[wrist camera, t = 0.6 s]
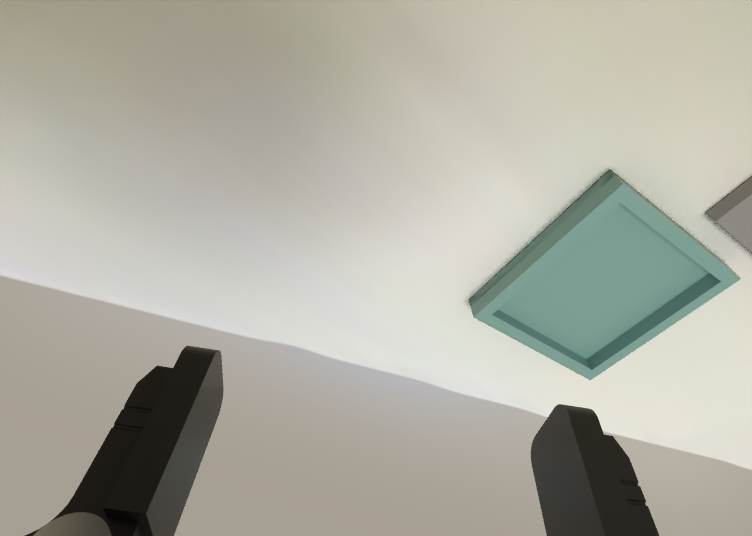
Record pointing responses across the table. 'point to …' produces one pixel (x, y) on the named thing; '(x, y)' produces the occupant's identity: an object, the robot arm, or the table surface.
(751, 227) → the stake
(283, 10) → the table surface
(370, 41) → the table surface
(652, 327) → the tray
